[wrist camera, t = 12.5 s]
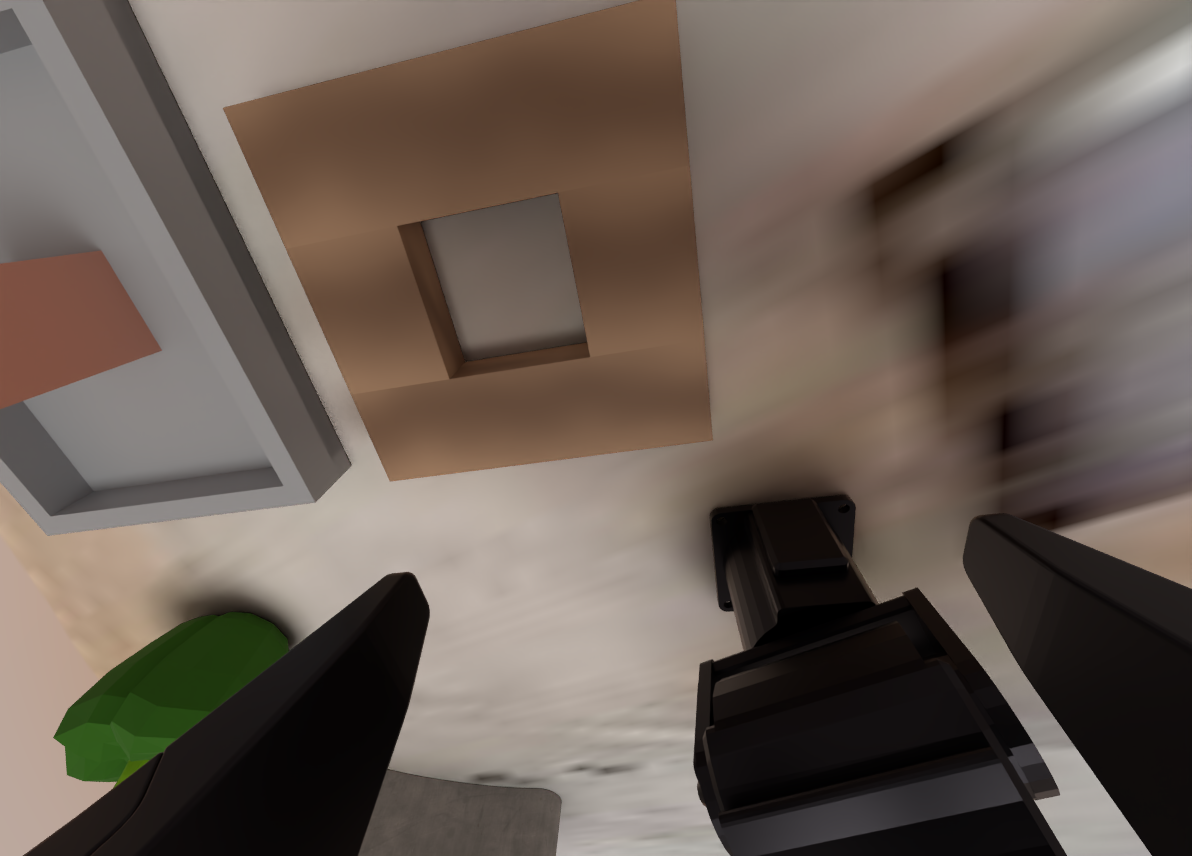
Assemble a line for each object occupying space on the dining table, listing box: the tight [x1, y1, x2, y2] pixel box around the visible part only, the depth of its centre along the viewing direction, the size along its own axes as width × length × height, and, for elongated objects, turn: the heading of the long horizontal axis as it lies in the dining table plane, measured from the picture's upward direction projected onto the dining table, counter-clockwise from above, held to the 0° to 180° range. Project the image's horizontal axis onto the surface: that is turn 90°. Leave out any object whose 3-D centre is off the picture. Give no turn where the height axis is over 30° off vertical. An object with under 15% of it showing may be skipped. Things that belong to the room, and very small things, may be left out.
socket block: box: [223, 0, 713, 481], centre depth 18 cm, size 14×14×2 cm
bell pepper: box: [53, 612, 289, 788], centre depth 25 cm, size 8×8×10 cm
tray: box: [0, 0, 351, 536], centre depth 19 cm, size 18×14×3 cm
